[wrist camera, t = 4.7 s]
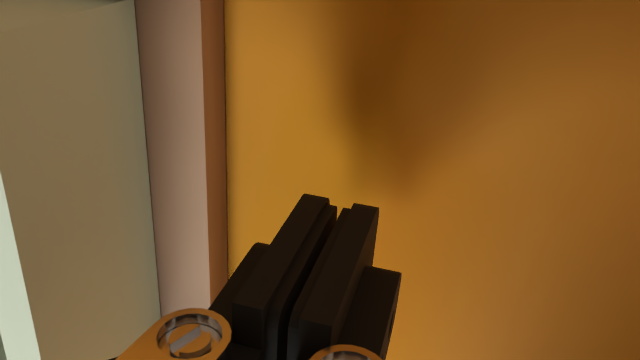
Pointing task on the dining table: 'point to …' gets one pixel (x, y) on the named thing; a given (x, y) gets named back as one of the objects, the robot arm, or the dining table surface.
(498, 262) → the dining table surface
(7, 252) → the socket block
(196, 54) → the rail board
